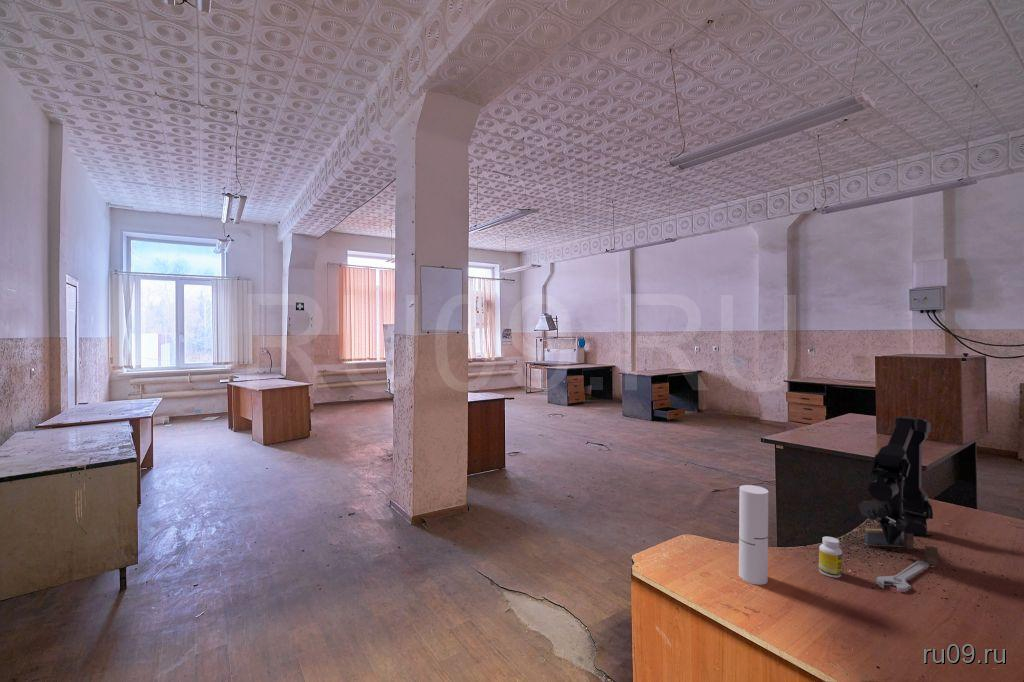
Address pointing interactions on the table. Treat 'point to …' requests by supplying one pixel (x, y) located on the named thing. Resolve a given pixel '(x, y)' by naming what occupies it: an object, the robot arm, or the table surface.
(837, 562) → the supplement bottle
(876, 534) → the gate panel
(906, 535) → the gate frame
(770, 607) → the table surface
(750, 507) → the cylindrical container
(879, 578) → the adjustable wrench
